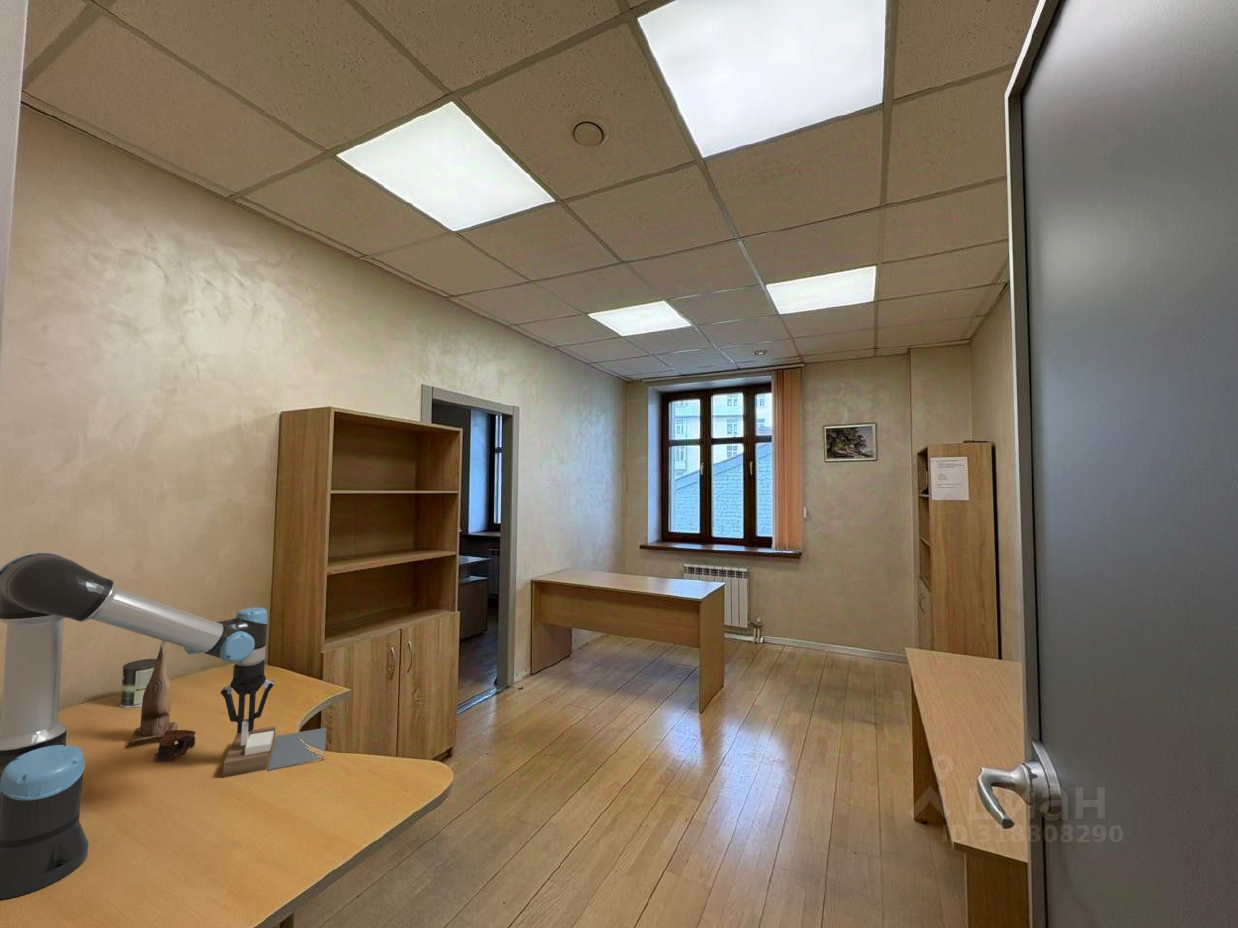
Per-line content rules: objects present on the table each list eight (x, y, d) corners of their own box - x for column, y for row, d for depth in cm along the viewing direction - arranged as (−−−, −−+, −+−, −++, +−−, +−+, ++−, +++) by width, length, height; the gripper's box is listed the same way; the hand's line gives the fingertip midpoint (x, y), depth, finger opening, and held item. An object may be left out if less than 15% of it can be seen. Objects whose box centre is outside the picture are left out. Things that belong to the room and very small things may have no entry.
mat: (324, 759, 153) (324, 758, 153) (267, 770, 147) (267, 769, 147) (326, 728, 173) (326, 727, 173) (276, 736, 166) (277, 735, 166)
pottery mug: (142, 762, 150) (155, 730, 155) (176, 763, 157) (187, 733, 162) (169, 759, 146) (181, 727, 151) (203, 760, 154) (214, 730, 158)
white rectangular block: (269, 750, 150) (270, 743, 150) (244, 755, 147) (245, 747, 147) (273, 737, 158) (273, 730, 158) (249, 741, 155) (250, 734, 155)
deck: (266, 769, 147) (267, 755, 147) (222, 777, 143) (223, 762, 143) (274, 738, 165) (275, 725, 165) (236, 745, 160) (237, 731, 160)
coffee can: (114, 709, 182) (117, 669, 183) (127, 698, 191) (130, 660, 192) (151, 705, 186) (154, 666, 187) (162, 694, 196) (165, 657, 196)
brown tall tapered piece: (125, 751, 155) (134, 645, 156) (132, 735, 165) (140, 634, 166) (174, 742, 162) (182, 640, 163) (178, 726, 171) (185, 630, 172)
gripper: (277, 654, 158) (272, 733, 157) (224, 660, 152) (219, 741, 151) (274, 662, 152) (269, 744, 151) (219, 668, 146) (214, 753, 144)
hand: (244, 742), depth 151 cm, fingers closed
